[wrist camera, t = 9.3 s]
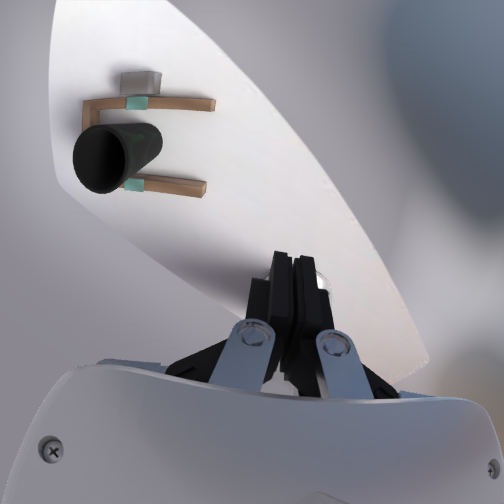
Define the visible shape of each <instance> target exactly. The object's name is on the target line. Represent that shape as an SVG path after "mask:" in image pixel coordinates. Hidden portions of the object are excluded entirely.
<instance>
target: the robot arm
mask: <svg viewBox="0 0 504 504" xmlns="http://www.w3.org/2000/svg"><path fill="white" fill-rule="evenodd" d="M332 302H333V294H332V289H331V286H330V284H329V283H328V281H327V280H326V279H325V278H324V277H323V276H322V275H321V274H319V273H318V272H316V269H315V263H314V258H313V257H309V256H303V255H301V256H300V258H295V260H294V264H293V267H292V257H288V255H287V253H285V252H279V251H274V255H273V260H272V265H271V270H270V275H269V276H267V277H266V278H265V279H258V278H252V283H251V288H250V294H249V300H248V306H247V312H246V318H245V319H244V320H241V321H239V322H238V323H236V324H235V326H234V327H233V329H232V331H231V333H230V336H229V338H228V339H226V340H223V341H221V342H219V343H217V344H215V345H213V346H211V347H208V348H206V349H204V350H202V351H199V352H197V353H195V354H193V355H190V356H188V357H186V358H183V359H181V360H179V361H176V362H174V363H173V364H171V365H170V366H161V363H154V362H140V361H128V360H118V359H104V360H101V361H99V362H98V363H96V364H92V365H84V366H79V367H76V368H73V369H71V370H69V371H68V372H66V373H65V374H64V375H63V376H62V377H61V378H60V379H59V380H58V381H57V382H56V383H55V385H54V386H53V387H52V389H51V390H50V392H49V393H48V395H47V396H46V398H45V399H44V401H43V402H42V404H41V406H40V408H39V410H38V411H37V413H36V415H35V417H34V419H33V420H32V422H31V424H30V427H29V429H28V431H27V433H26V435H25V438H24V440H23V442H22V445H21V447H20V449H19V452H18V454H17V457H16V459H15V462H14V464H13V467H12V470H11V473H10V476H9V479H8V482H7V486H6V489H5V493H4V496H3V501H2V504H504V460H503V456H502V452H501V448H500V444H499V441H498V437H497V435H496V432H495V429H494V426H493V424H492V422H491V419H490V417H489V415H488V413H487V412H486V410H485V409H484V408H483V407H482V406H480V405H479V404H477V403H475V402H472V401H469V400H466V399H461V398H455V397H434V396H427V395H422V394H417V393H410V392H405V391H400V392H399V393H397V392H396V390H395V389H394V388H393V387H392V386H391V385H389V384H388V383H387V382H386V381H384V380H383V379H382V378H380V377H379V376H378V375H376V374H375V373H374V372H373V371H371V370H370V369H369V368H367V367H366V366H365V365H364V364H362V363H361V361H360V358H359V355H358V353H357V350H356V348H355V345H354V343H353V341H352V339H351V338H350V337H349V336H348V335H346V334H345V333H343V332H341V331H338V330H335V328H334V323H333V317H332V311H331V306H332Z"/></svg>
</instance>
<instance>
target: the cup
mask: <svg viewBox="0 0 504 504" xmlns="http://www.w3.org/2000/svg"><path fill="white" fill-rule="evenodd" d="M162 144H163V140H162V136H161V133H160V131H159V130H158V129H157V128H156V127H155V126H153V125H151V124H101V125H93V126H91V127H89V128H87V129H86V130H85V131H83V132H82V133H81V135H80V136H79V137H78V139H77V141H76V143H75V146H74V151H73V165H74V170H75V172H76V175H77V177H78V179H79V180H80V182H81V183H82V184H83V185H84V186H85V187H86V188H87V189H89V190H90V191H92V192H95V193H98V194H106V193H110V192H112V191H114V190H115V189H117V188H118V187H119V186H121V185H122V184H123V183H124V182H125V181H127V180H128V179H129V178H130V177H131V176H133V175H134V174H135V173H136V172H138V171H139V170H140V169H141V168H143V167H144V166H145V165H146V164H148V163H149V162H150V161H152V160H153V159H154V158H155V157H156V156H157V155H158V154H159V153H160V151H161V149H162Z"/></svg>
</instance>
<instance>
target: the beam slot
mask: <svg viewBox="0 0 504 504" xmlns="http://www.w3.org/2000/svg"><path fill="white" fill-rule="evenodd" d="M161 76H162V73H157V72H151V71H144V72H128V73H122V77H121V86H120V95H125V94H159V93H160V84H161ZM215 104H216V100H209V99H194V98H170V97H148V96H141V97H127V98H110V99H96V100H87V101H83V113H82V132H83V131H85V130H86V129H87V128H89V127H91V126H93V125H99V113H100V110H101V109H126V110H147V108H148V109H180V110H196V111H208V112H211V111H215ZM206 184H207V182H202V181H195V180H187V179H179V178H171V177H162V176H153V175H143V174H134V175H133V176H131V177H130V178H129V179H128V180H127V181H125V182H124V183H123V184H122V185H121V186H119V188H125V190H130V191H139V192H143V191H144V190H145V191H153V192H161V193H169V194H176V195H183V196H190V197H197V198H202V196H203V195H204V194H205V193H206Z"/></svg>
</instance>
